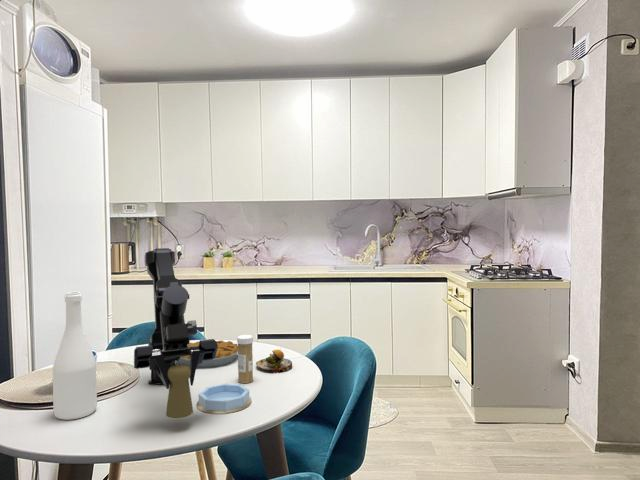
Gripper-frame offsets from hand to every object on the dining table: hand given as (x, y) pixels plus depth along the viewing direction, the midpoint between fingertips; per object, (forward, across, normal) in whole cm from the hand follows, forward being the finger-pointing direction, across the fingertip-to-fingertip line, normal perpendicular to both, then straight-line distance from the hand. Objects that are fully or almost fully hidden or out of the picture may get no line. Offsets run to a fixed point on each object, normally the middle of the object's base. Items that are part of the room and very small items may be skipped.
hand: (180, 386), depth 106 cm
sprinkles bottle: (-10, +22, +25) cm, 35 cm away
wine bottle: (-7, -22, +21) cm, 32 cm away
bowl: (-1, +12, +15) cm, 19 cm away
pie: (-29, +16, +44) cm, 55 cm away
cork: (+4, 0, +6) cm, 7 cm away
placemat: (-1, +12, +15) cm, 19 cm away
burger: (-16, +34, +32) cm, 49 cm away
